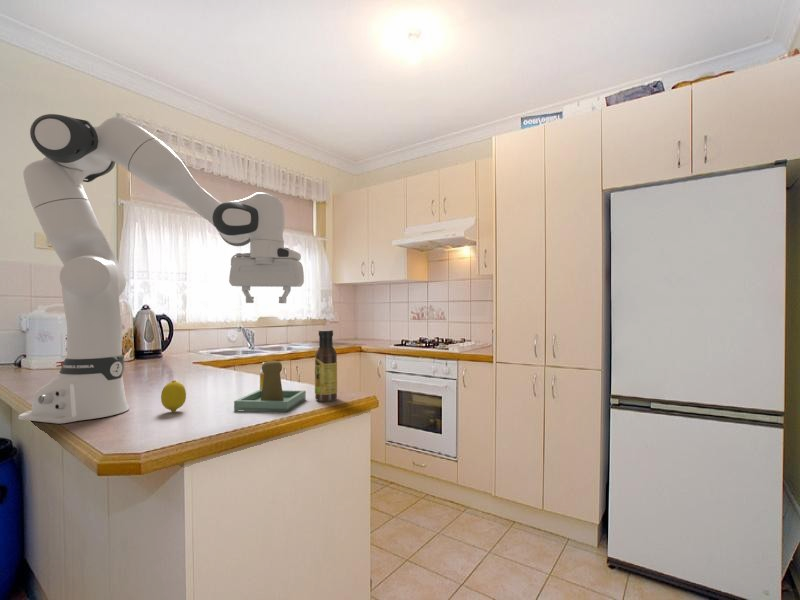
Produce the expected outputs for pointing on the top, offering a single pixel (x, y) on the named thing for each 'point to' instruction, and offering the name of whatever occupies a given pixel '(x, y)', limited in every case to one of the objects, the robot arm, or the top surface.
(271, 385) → the cork
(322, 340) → the sauce bottle
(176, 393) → the lemon
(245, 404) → the tray
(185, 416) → the top surface
